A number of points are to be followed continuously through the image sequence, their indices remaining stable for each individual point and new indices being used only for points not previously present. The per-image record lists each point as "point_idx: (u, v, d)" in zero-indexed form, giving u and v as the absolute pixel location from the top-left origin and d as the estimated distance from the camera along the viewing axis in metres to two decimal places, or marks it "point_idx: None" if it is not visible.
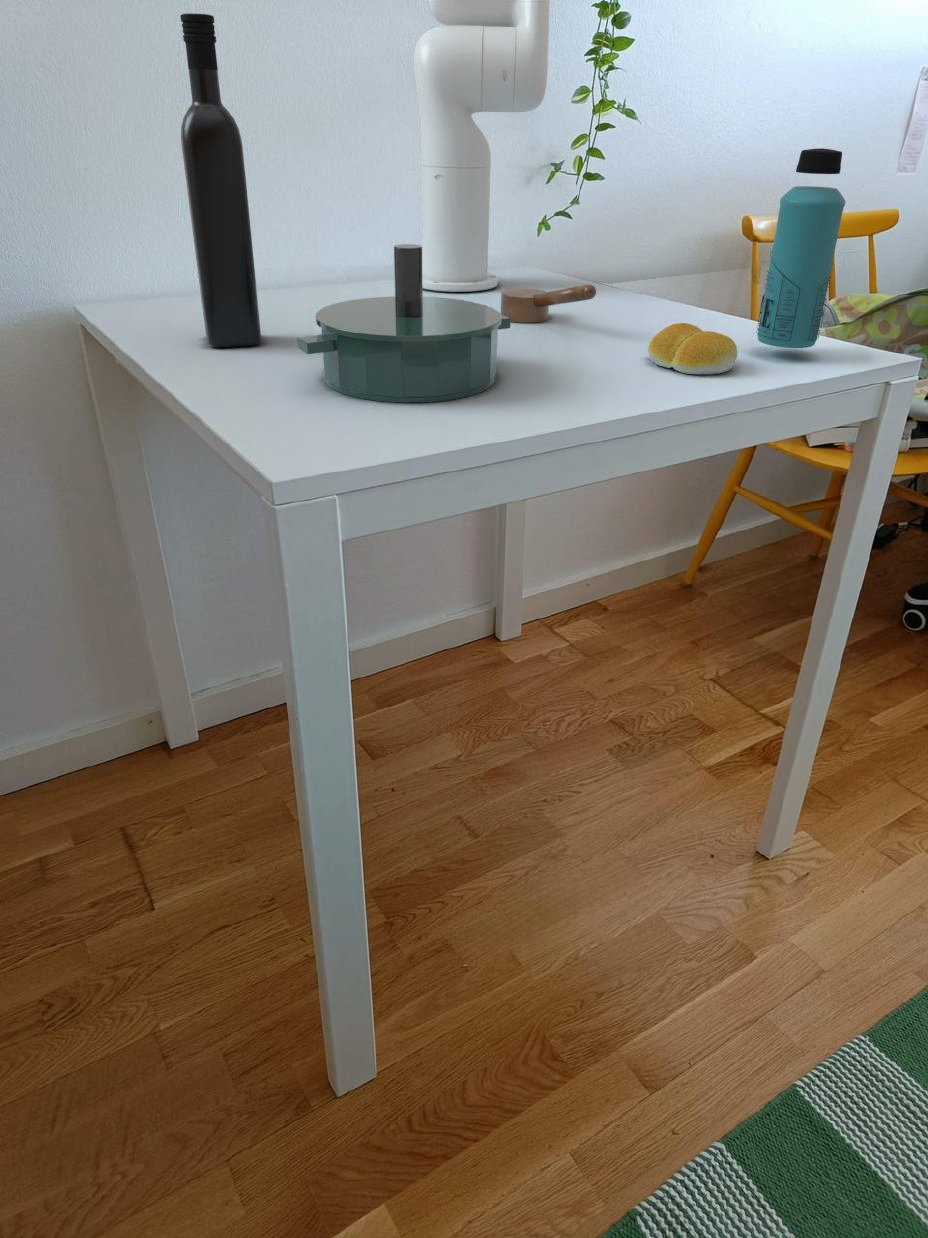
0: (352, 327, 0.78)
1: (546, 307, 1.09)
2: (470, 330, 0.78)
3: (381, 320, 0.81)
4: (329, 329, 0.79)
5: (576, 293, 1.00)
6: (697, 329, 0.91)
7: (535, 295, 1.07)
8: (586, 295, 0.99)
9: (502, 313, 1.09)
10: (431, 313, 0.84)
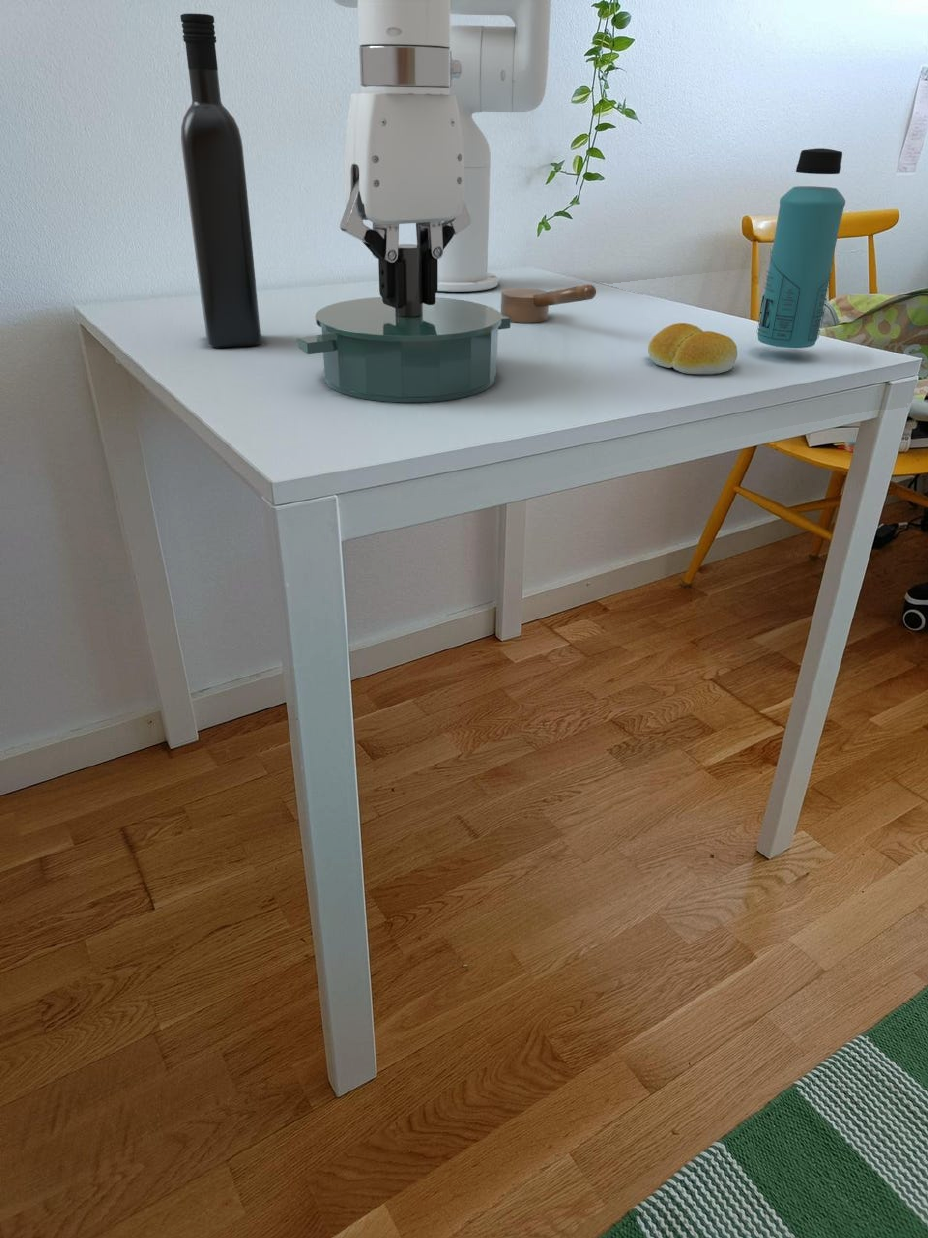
0: (352, 327, 0.78)
1: (546, 307, 1.09)
2: (470, 330, 0.78)
3: (381, 320, 0.81)
4: (329, 329, 0.79)
5: (576, 293, 1.00)
6: (697, 329, 0.91)
7: (535, 295, 1.07)
8: (586, 295, 0.99)
9: (502, 313, 1.09)
10: (431, 313, 0.84)
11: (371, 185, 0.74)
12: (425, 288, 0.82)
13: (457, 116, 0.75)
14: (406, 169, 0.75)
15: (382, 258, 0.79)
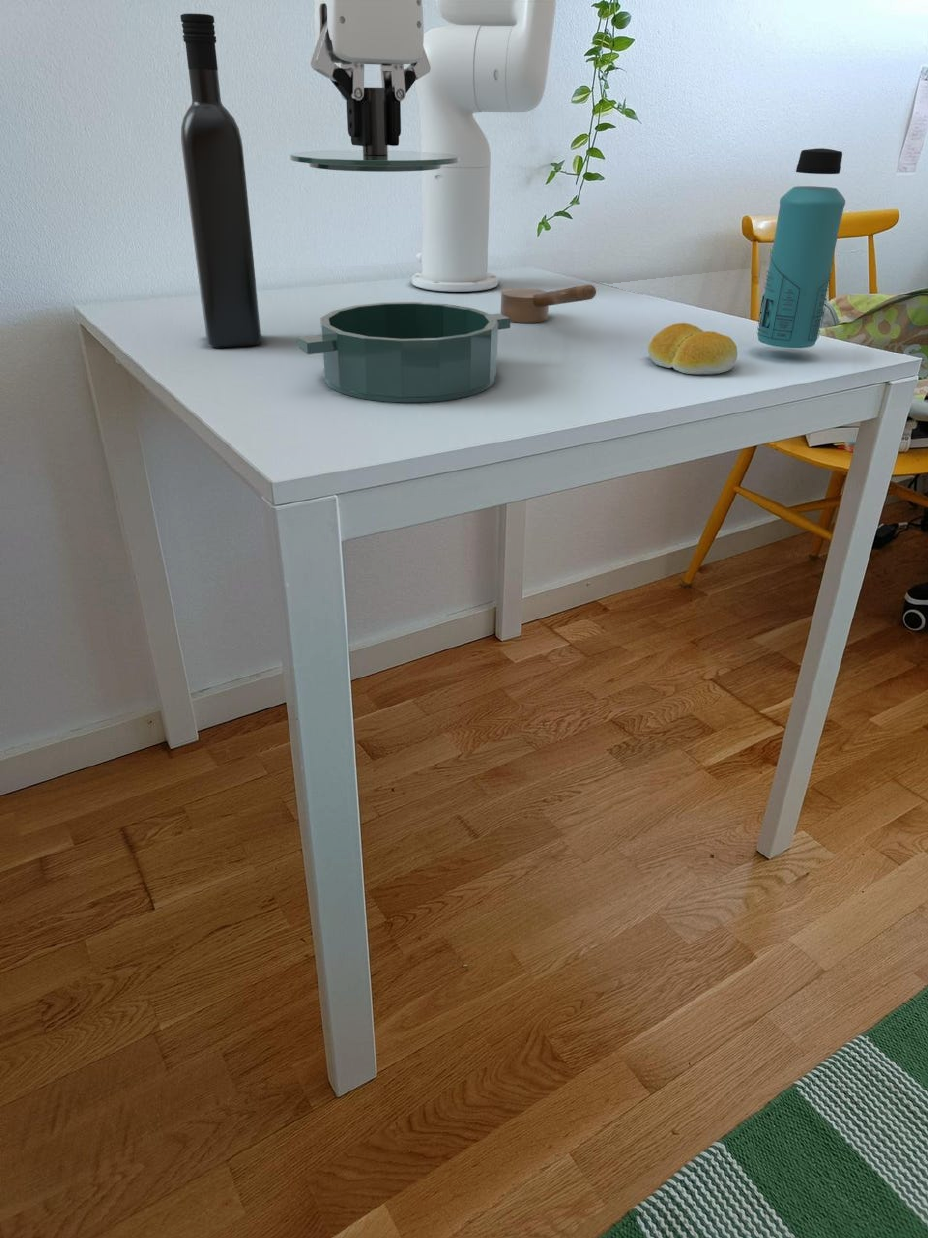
0: (322, 157, 0.87)
1: (546, 307, 1.09)
2: (429, 159, 0.86)
3: (349, 156, 0.89)
4: (301, 160, 0.87)
5: (576, 293, 1.00)
6: (697, 329, 0.91)
7: (535, 295, 1.07)
8: (586, 295, 0.99)
9: (502, 313, 1.09)
10: None
11: (338, 21, 0.82)
12: (389, 129, 0.90)
13: None
14: (369, 8, 0.83)
15: (349, 96, 0.87)
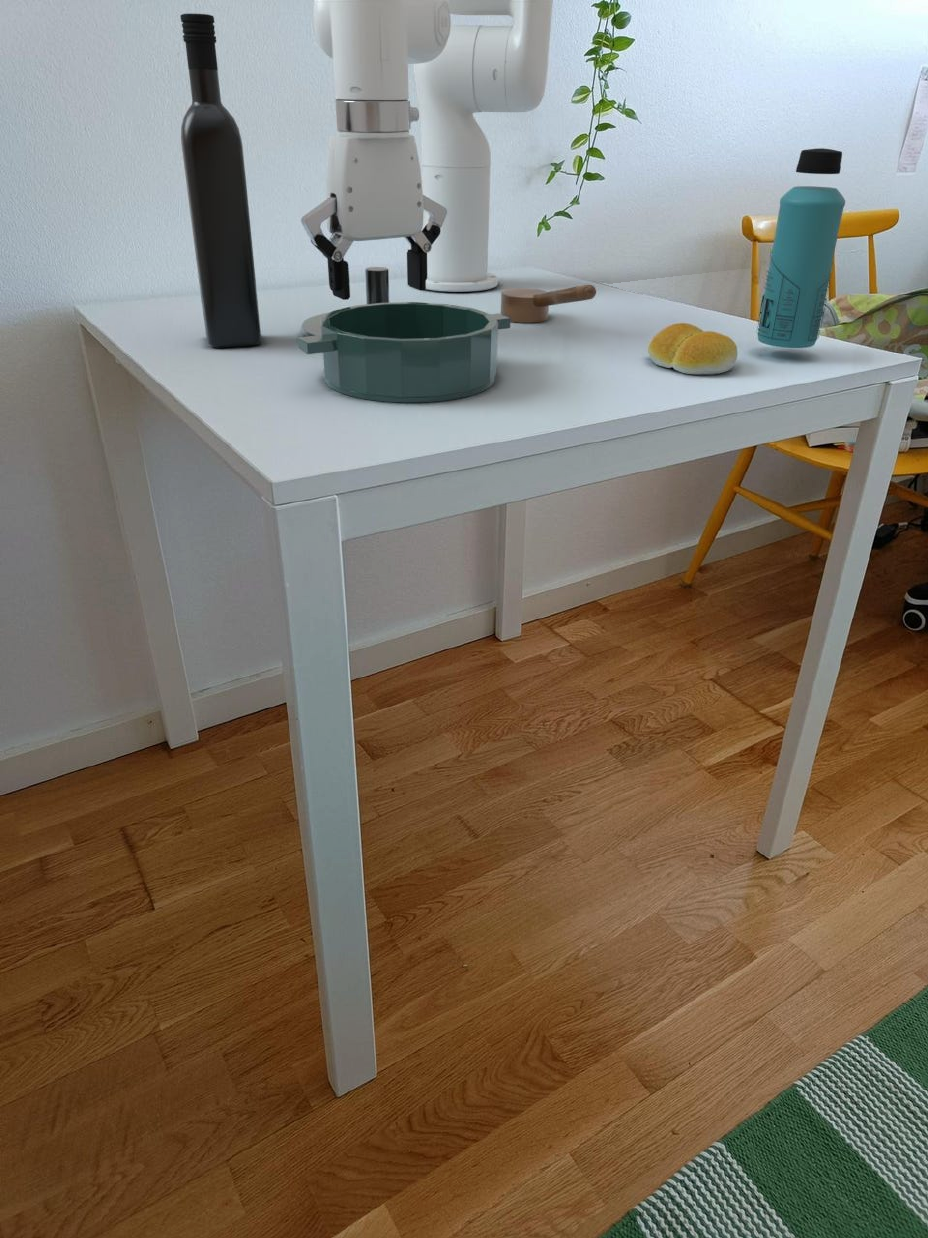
0: None
1: (546, 307, 1.09)
2: None
3: None
4: None
5: (576, 293, 1.00)
6: (697, 329, 0.91)
7: (535, 295, 1.07)
8: (586, 295, 0.99)
9: (502, 313, 1.09)
10: None
11: (346, 210, 0.92)
12: (417, 276, 1.01)
13: (416, 153, 0.93)
14: (375, 197, 0.93)
15: (330, 258, 0.95)
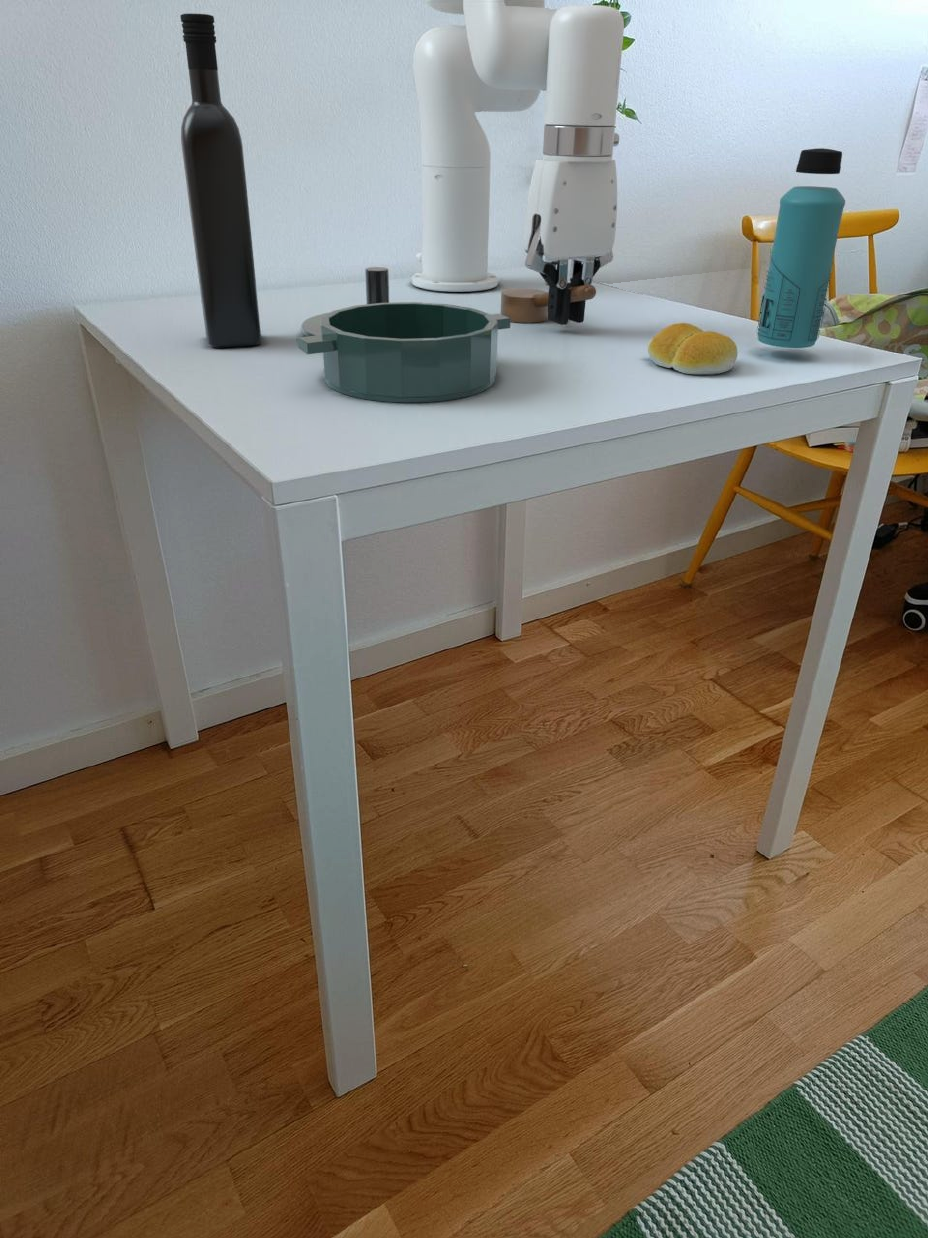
0: None
1: (546, 307, 1.09)
2: None
3: None
4: None
5: (576, 293, 1.00)
6: (697, 329, 0.91)
7: (535, 295, 1.07)
8: (586, 294, 0.99)
9: (502, 313, 1.09)
10: None
11: (551, 230, 0.95)
12: (576, 309, 1.03)
13: (615, 176, 0.97)
14: (577, 218, 0.96)
15: (554, 285, 1.01)
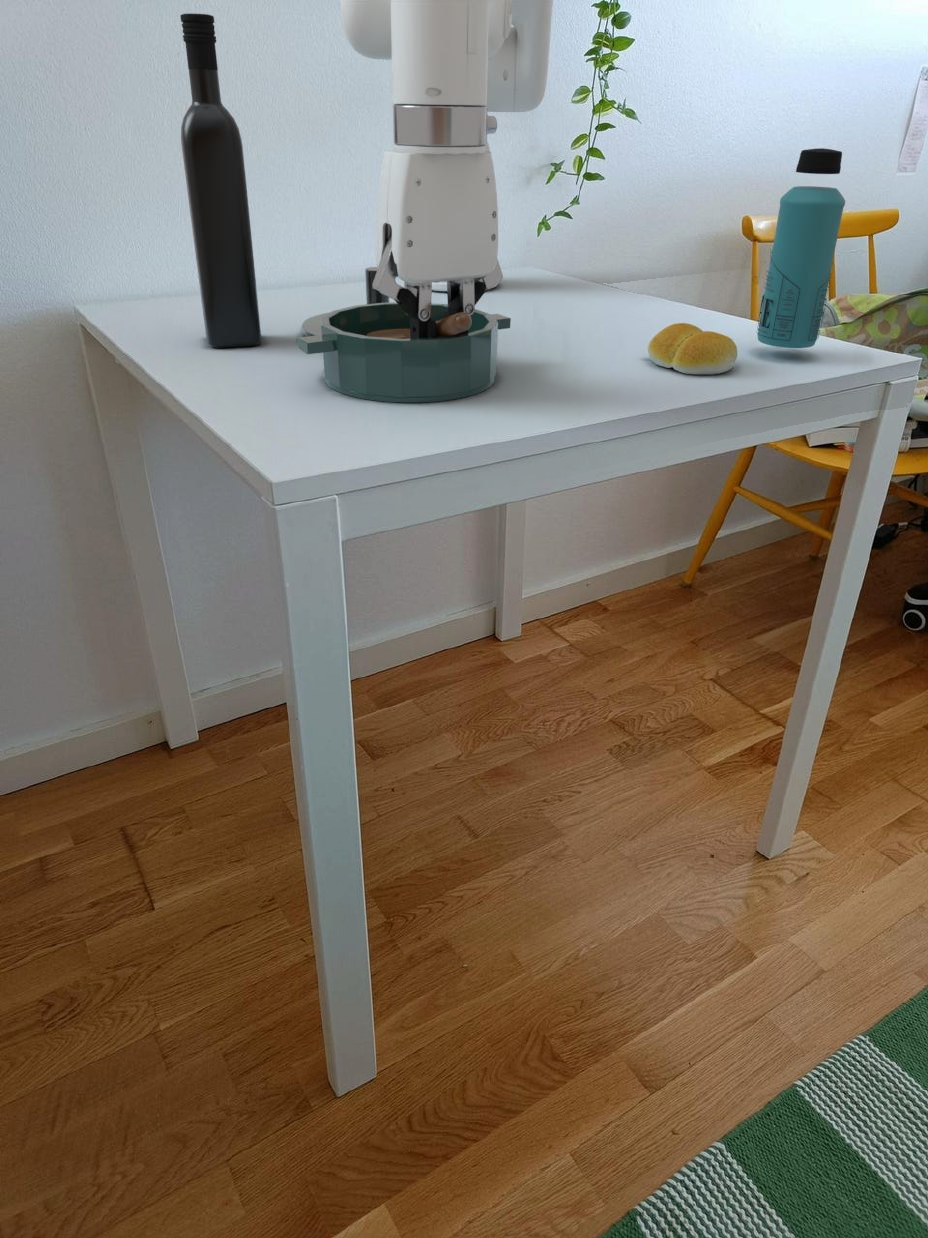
0: None
1: None
2: None
3: None
4: None
5: (446, 324, 0.77)
6: (697, 329, 0.91)
7: (406, 335, 0.84)
8: (457, 325, 0.75)
9: None
10: None
11: (404, 245, 0.72)
12: None
13: (492, 173, 0.73)
14: (440, 228, 0.73)
15: (414, 316, 0.77)
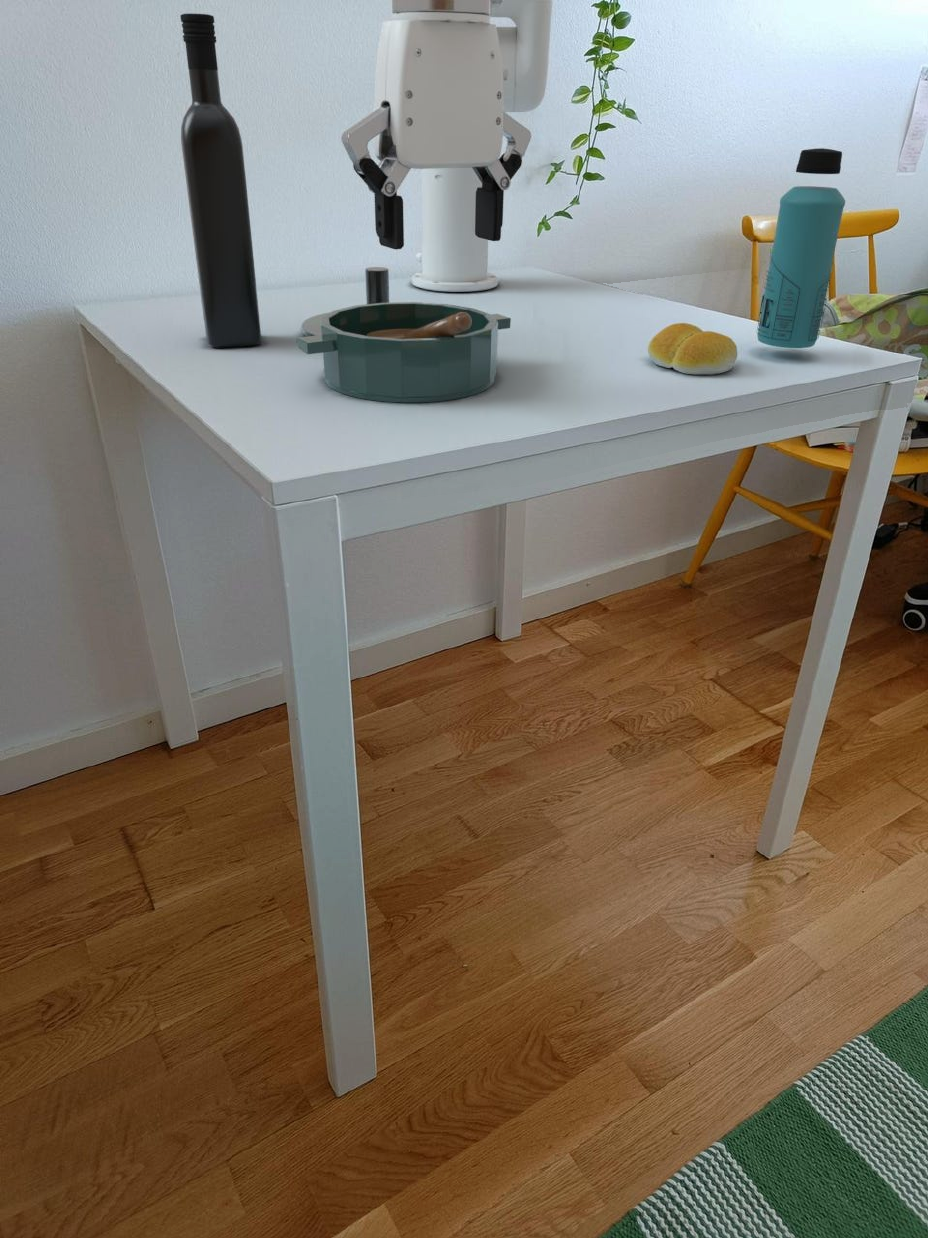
0: None
1: None
2: None
3: None
4: None
5: (446, 324, 0.77)
6: (697, 329, 0.91)
7: (406, 335, 0.84)
8: (457, 325, 0.75)
9: None
10: None
11: (404, 124, 0.68)
12: (490, 222, 0.76)
13: (497, 48, 0.69)
14: (442, 106, 0.68)
15: (379, 191, 0.70)
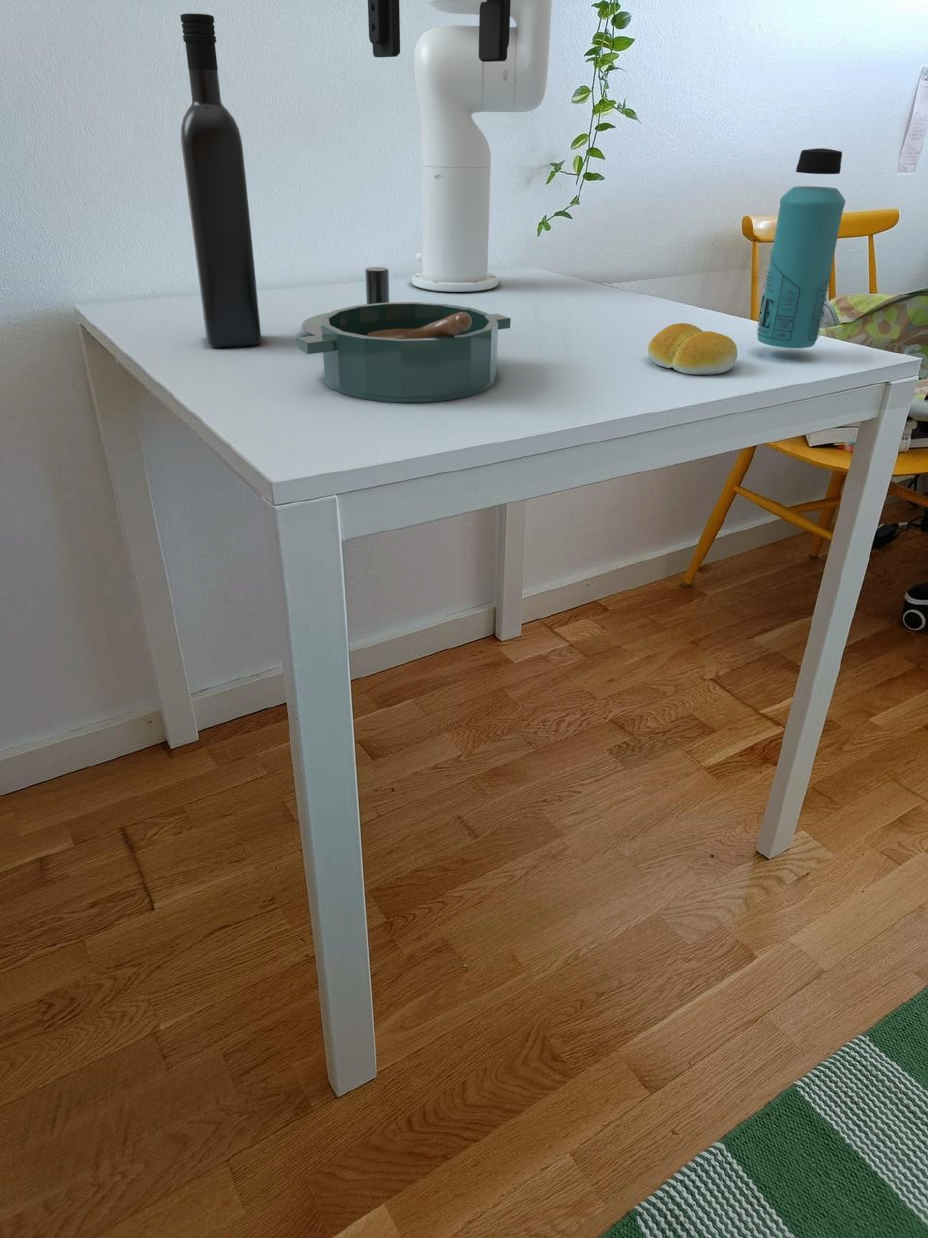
0: None
1: None
2: None
3: None
4: None
5: (446, 324, 0.77)
6: (697, 329, 0.91)
7: (406, 335, 0.84)
8: (457, 325, 0.75)
9: None
10: None
11: None
12: (495, 38, 0.69)
13: None
14: None
15: None
